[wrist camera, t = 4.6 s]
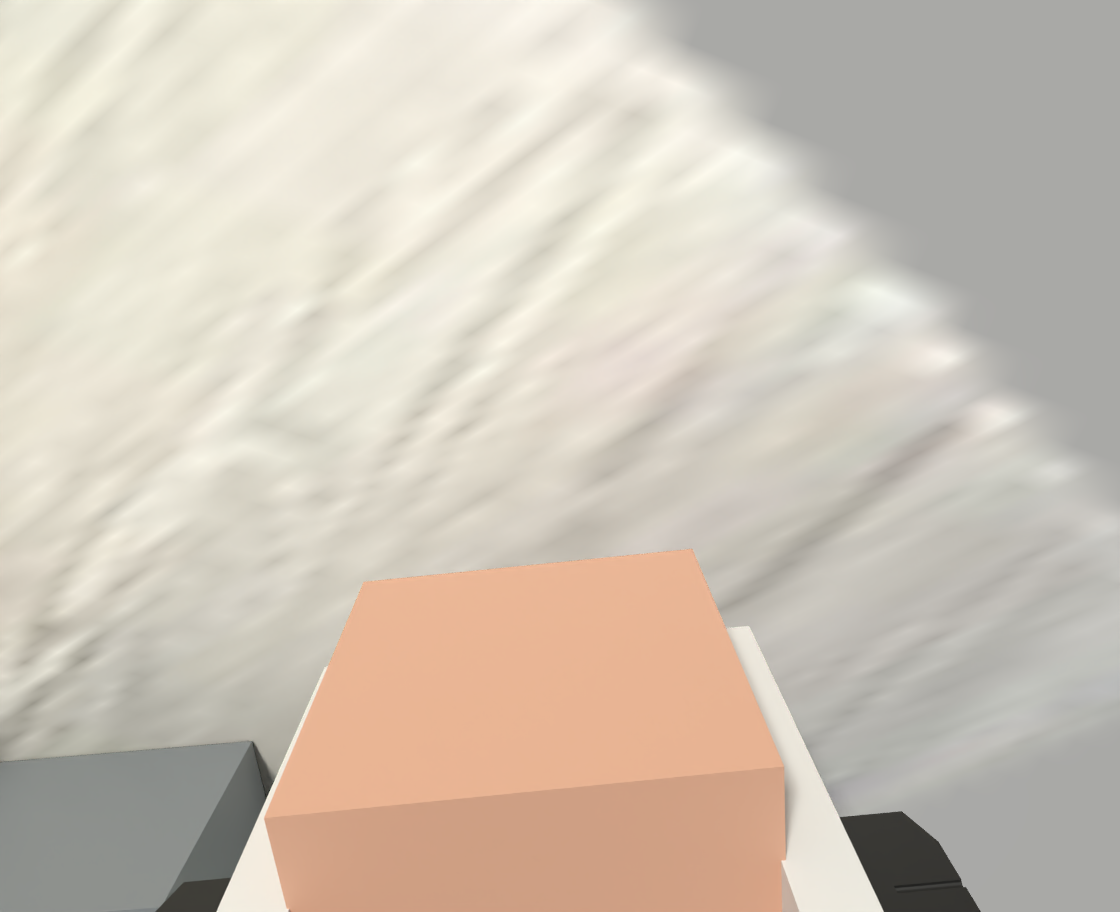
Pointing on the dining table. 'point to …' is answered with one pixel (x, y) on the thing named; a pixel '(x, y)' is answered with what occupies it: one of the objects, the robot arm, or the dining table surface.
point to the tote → (123, 826)
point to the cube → (534, 750)
